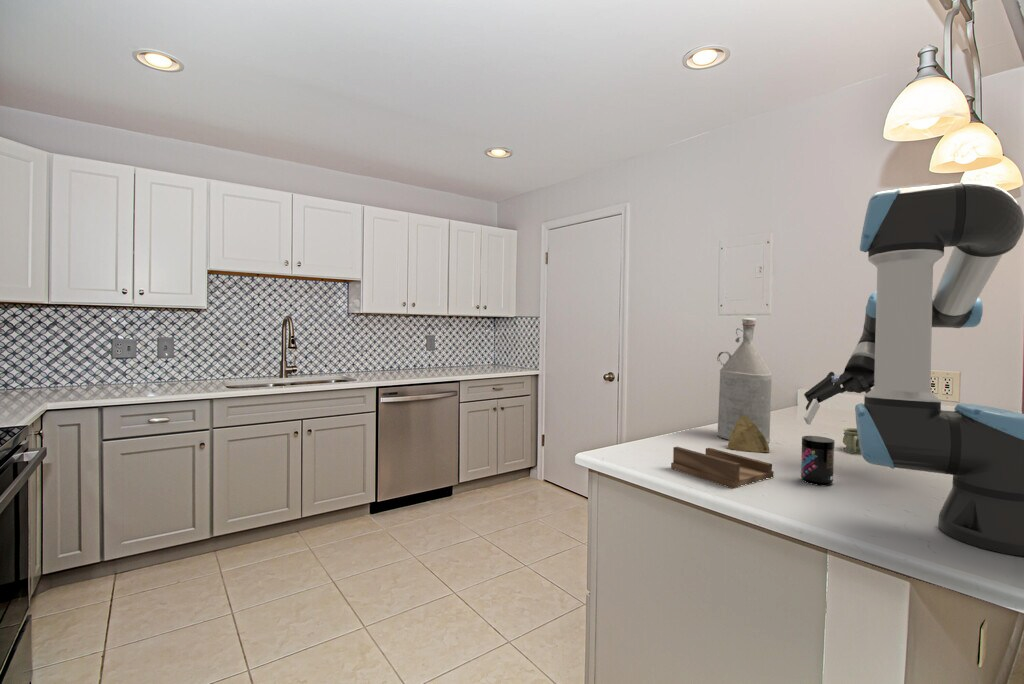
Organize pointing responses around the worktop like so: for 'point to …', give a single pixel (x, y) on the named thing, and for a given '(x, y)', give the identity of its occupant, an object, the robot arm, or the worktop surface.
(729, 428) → the grey jug
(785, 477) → the worktop surface
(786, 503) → the worktop surface
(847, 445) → the vessel
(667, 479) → the worktop surface
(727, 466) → the walnut rack
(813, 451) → the supplement container
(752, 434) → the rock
